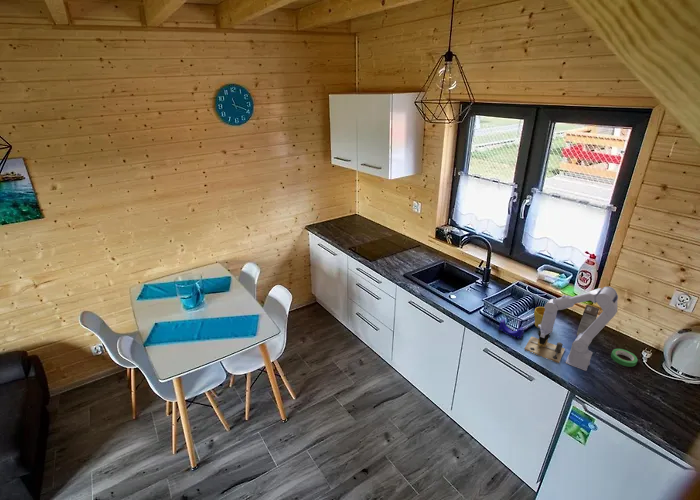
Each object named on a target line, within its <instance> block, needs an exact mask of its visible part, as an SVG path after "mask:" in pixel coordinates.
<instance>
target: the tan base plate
mask: <svg viewBox="0 0 700 500" xmlns="http://www.w3.org/2000/svg"><path fill="white" fill-rule="evenodd" d="M538 340H539V337H535V336H530V337H529V339H528V342H526V345H525V347H524V349H525V350H524V349H523V350H524V351H526V350H527V351H526V352H528V351H530V352H529V353H531V352H533V353H532V354H534V353H535V354H534V355H536V354H537V356H539V357H541V356H542V358H544V359H546V358H547V360H549V361H551V360H552V361H551V362H554V363H557V364H560V362H561V360H562V357H563V355H564V352H565V350H566V348H565V347H563V345H564V344H563V343H562V342H557V343H556V344H554V343H551V342H547V345H546V347H543V346H542V347H541V349H540V351H538V349H539V347H540V345H538Z"/></svg>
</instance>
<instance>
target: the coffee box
mask: <svg viewBox="0 0 700 500" xmlns="http://www.w3.org/2000/svg"><path fill="white" fill-rule="evenodd" d="M599 312H600V308H599V307H596V306H593V305H590V304H586V305H585V308H584V310H583V311H582V316H581V320H580V321H579V322H580V323H579V325H578V327H577V328H578V329H577V331H576V336H577V337H578V335H579V334H580V333H583V332H584V331H585V330H587V328H588V327H589V326H590V325H591V324H592V323H593V322H594V321H595V320H596V319H597V317H598V316H599V315H598V314H599Z"/></svg>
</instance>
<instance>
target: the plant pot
mask: <svg viewBox="0 0 700 500" xmlns="http://www.w3.org/2000/svg"><path fill="white" fill-rule="evenodd" d="M544 312H545V308H544V306H538V307H535V309H534V312H533V316H534V325H535V327H536V328H537V329H540V327H538V325H539V324H540V325H541V323H542V319H543V315H544Z"/></svg>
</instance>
